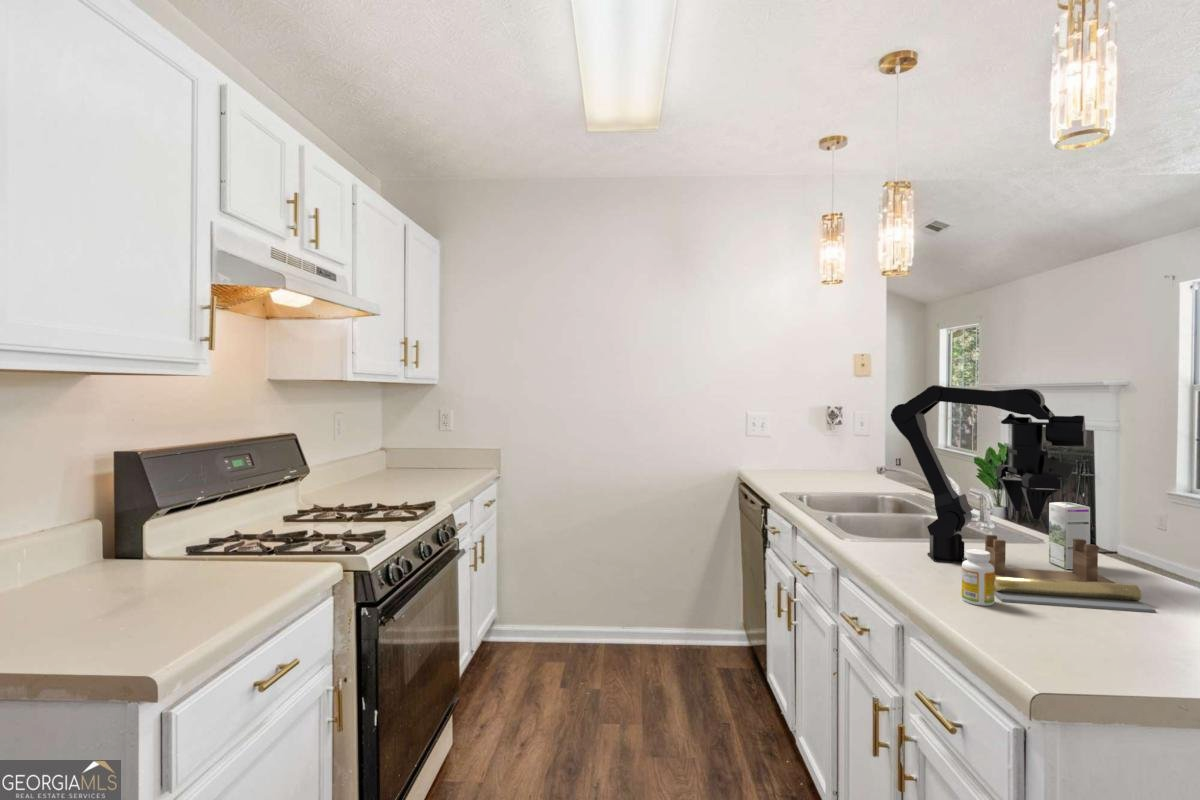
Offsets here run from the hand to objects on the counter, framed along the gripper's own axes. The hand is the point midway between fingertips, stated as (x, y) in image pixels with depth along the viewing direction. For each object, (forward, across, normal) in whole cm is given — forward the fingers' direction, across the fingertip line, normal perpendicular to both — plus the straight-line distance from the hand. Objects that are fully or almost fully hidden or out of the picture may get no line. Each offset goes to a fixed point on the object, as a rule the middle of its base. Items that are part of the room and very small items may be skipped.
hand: (1026, 514), depth 136 cm
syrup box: (+13, +8, -12) cm, 19 cm away
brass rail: (+12, -17, 0) cm, 21 cm away
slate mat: (+13, -17, 0) cm, 21 cm away
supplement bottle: (+13, -23, +17) cm, 32 cm away
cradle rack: (+13, -4, -1) cm, 14 cm away
